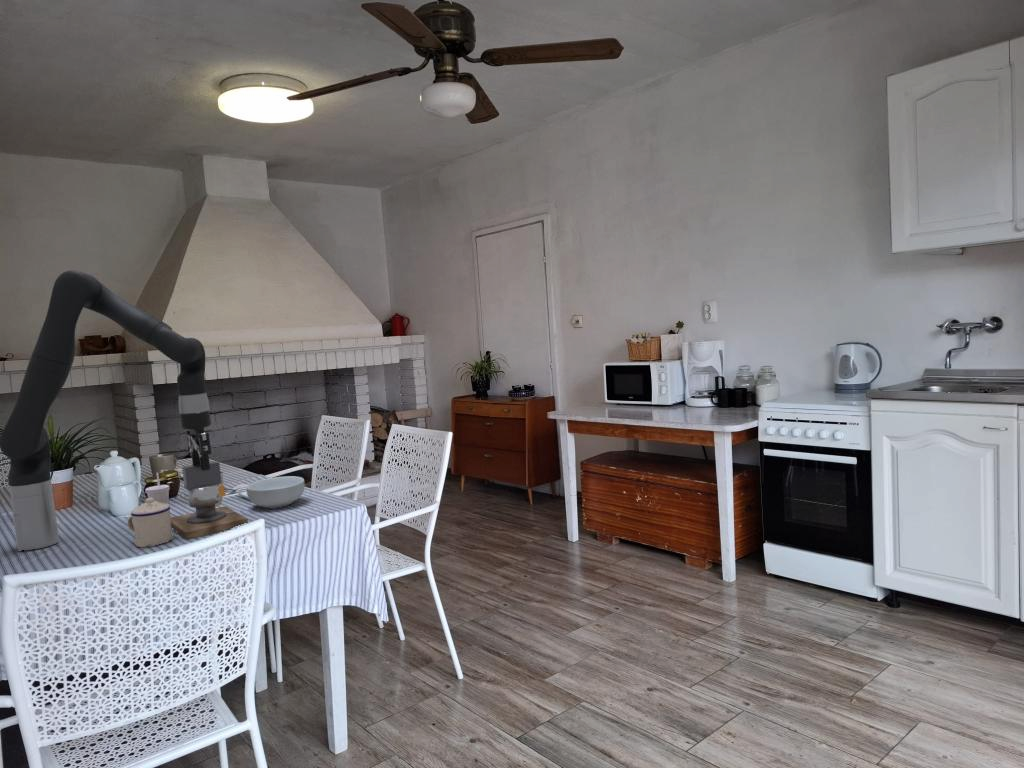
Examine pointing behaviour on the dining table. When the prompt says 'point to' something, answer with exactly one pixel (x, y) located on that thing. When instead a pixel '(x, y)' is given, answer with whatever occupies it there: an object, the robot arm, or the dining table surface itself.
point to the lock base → (206, 521)
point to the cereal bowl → (276, 491)
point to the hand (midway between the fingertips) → (201, 468)
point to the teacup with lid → (151, 523)
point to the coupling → (203, 484)
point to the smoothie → (158, 492)
